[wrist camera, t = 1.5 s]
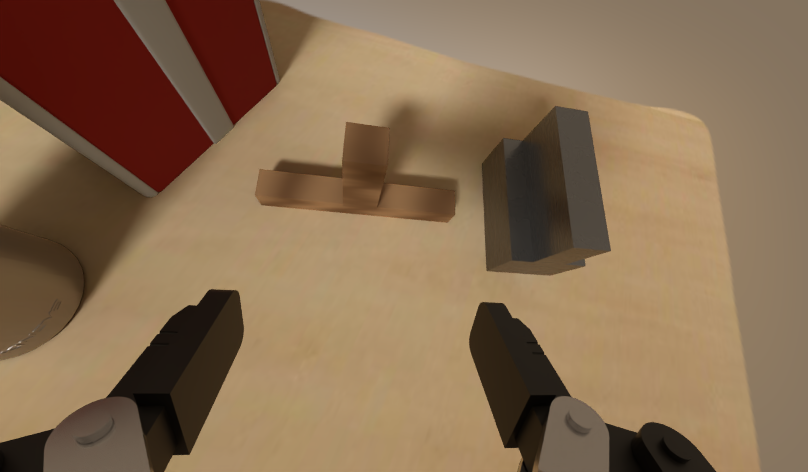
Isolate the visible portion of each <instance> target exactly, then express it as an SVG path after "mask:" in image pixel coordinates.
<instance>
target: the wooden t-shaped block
mask: <svg viewBox="0 0 808 472" xmlns="http://www.w3.org/2000/svg"><path fill="white" fill-rule="evenodd" d="M389 130H390V128H386V127H378V126H371V125H364V124H357V123H350V122H346V129H345V139H344V148H343V158H342V176H343V178H335V177H326V176H317V175H308V174H299V173H290V172H281V171H272V170H263V169H260V171H259V176H258V182H257V187H256V192H255V196H256V197H257V199H258V200H259V202H260V203H261V205H266V206H277V207H287V208H298V209H309V210H319V211H330V212H340V213H351V214H362V215H372V216H383V217H394V218H404V219H415V220H425V221H436V222H447V223H448V222H449V220H450V219H451V218H452V217H453V216H454V215H455V191H452V190H443V189H434V188H425V187H416V186H407V185H398V184H389V183H383V182H384V178H385V174H386V170H387V166H388V148H389Z"/></svg>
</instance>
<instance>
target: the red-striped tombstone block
mask: <svg viewBox="0 0 808 472" xmlns="http://www.w3.org/2000/svg"><path fill="white" fill-rule="evenodd" d="M279 82H280V78H279V74H278V71H277V67H276V63H275V59H274V55H273V51H272V48H271V44H270V40H269V36H268V32H267V28H266V24H265V21H264V17H263V13H262V9H261V5H260V1H259V0H0V100H1V101H3V102H4V103H6V104H7V105H9V106H10V107H12V108H13V109H15V110H16V111H18V112H19V113H21V114H22V115H24V116H25V117H27V118H28V119H30V120H31V121H33V122H34V123H36V124H37V125H39V126H40V127H42V128H43V129H45V130H46V131H48V132H49V133H51V134H52V135H54V136H55V137H57V138H58V139H60V140H61V141H63V142H64V143H66V144H67V145H69V146H70V147H72V148H73V149H75V150H76V151H78V152H79V153H81V154H82V155H84V156H85V157H87V158H88V159H90V160H91V161H93V162H94V163H96V164H97V165H99V166H100V167H102V168H103V169H105V170H106V171H108V172H109V173H111V174H112V175H114V176H115V177H117V178H118V179H120V180H121V181H123V182H124V183H126V184H127V185H129V186H130V187H132V188H133V189H135V190H136V191H138V192H139V193H141V194H142V195H144V196H146V197H154V196H156V195H158V192H161V191H162V190H163V189H165V188H166V187H167V186H168V185H169V184H170V183H171V182H172V181H173V180H174V179H175V178H177V177H178V176H179V175H180V174H181V173H182V172H183V171H184V170H185V169H186V168H187V167H188V166H190V165H191V164H192V163H193V162H194V161H195V160H196V159H197V158H198V157H199V156H200V155H202V154H203V153H204V152H205V151H206V150H207V149H208V148H209V147H210V146H211V145H212V144H213V143H214V144H215V143H217V142H219V141H220V140H221V139H222V138H223V137H224V136H225V135H226V134H227V133H228V132H229V131H231V130H232V129H233V128H234V124H235V123H236V122H237V121H239V120H240V119H241V118H242V117H243V116H244V115H245V114H246V113H247V112H248V111H249V110H250V109H252V108H253V107H254V106H255V105H256V104H257V103H258V102H259V101H260V100H261V99H262V98H264V97H265V96H266V95H267V94H268V93H269V92H270V91H271V90H272V89H273V88H274V87H276V84H278V83H279Z"/></svg>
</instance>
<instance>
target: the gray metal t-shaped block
mask: <svg viewBox="0 0 808 472" xmlns="http://www.w3.org/2000/svg"><path fill="white" fill-rule="evenodd" d="M482 178H483V200H484V223H485V245H486V268H487V271H494V272H508V273H522V274H537V275H554V274H558V273H562V272H565V271H569V270H573V269H577V268H580V267H584V266H585V259H586V258H589V257H592V256H596V255H599V254H602V253H606V252H609V251H611V249H610V243H609V237H608V231H607V225H606V219H605V212H604V206H603V200H602V194H601V188H600V182H599V176H598V170H597V164H596V158H595V152H594V146H593V140H592V134H591V128H590V122H589V116H588V111H581V110H575V109H569V108H563V107H557V106H555V107H554V108H553V109H552V110H551V111H550V112H549V113H548V114H547V115H546V117H545V118H544V119H543V120H542V121H541V122H540V123H539V124H538V125H537V126H536V127H535V128H534V129H533V130H532V131H531V133H530V134H529V135H528V136H527V137H526V138H525V139H524V140H523V141H520V140H513V139H506V138H503V139H502V140H501V142H500V143H499V144H498V145H497V146H496V148H495V149H494V150H493V151H492V153H491V154H490V155H489V156H488V157H487V159H486V160H485V161H484V162H483V163H482Z"/></svg>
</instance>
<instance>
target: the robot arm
mask: <svg viewBox="0 0 808 472" xmlns="http://www.w3.org/2000/svg"><path fill="white" fill-rule="evenodd" d="M83 289H84V277H83V271H82V268H81V266H80V264H79V262H78V260H77V258H76V257H75V256H74V255H73V254H72V253H71V252H70V250H68V249H67V248H65V247H63V246H62V245H60V244H58V243H56V242H53V241H50V240H47V239H44V238H41V237H38V236H34V235H31V234H28V233H24V232H21V231H18V230H15V229H11V228H8V227H5V226H2V225H0V360H4V359H8V358H13V357H17V356H20V355H22V354H24V353H27V352H29V351H32V350H34V349H36V348H37V347H39V346H41V345H42V344H44V343H46V342H47V341H49V340H50V339H51V338H52V337H54V336H55V335H56V334H57V333H58V332H60V331H61V330H62V329H63V328H64V326H65V325H66V324H67V323H68V322H69V320H70V319H71V318H72V317H73V315H74V313H75V311H76V310H77V308H78V306H79V304H80V301H81V298H82V295H83ZM243 333H244V325H243V318H242V310H241V303H240V296H239V293H238V291H236V290H215V289H211V290H209V291H208V292H207V293H206V294H205V296H204V297H203V298H202V300H201V301H200V303H199V304H198V305H197V306H193V305H188V306H187V307H185V308H184V309H182V310H181V311H179V312H178V313H177V314H175V315H174V316H172V317H171V318H170V319H169V321H168V322H167V323H166V324H165V326H164V327H163V328H162V329H161V330H160V334H157V335H156V337H155V338H154V339H153V340H152V342H151V343H150V346H148V347H147V348H146V349H145V350H144V352H143V353H142V354H141V355H140V357H139V358H138V359H137V360H136V362H135V363H134V364H133V365H132V367H131V368H130V369H129V370H128V371H127V373H126V374H125V375H124V376H123V378H122V379H121V380H120V381H119V383H118V384H117V385H116V386H115V388H114V389H113V390H112V391H111V393H110V394H109V395H108V396H107V397H106V398H104V399H100V400H97V401H95V402H92V403H90V404H88V405H85V406H84V407H82V408H80V409H78V410H76V411H75V412H74V413H72V414H71V415H69V416H68V417H67V418H65V419H64V420H63V421H62V422H61V423H60V424H59V425H58V426H57V427H56V428H55V429H51V430H48V431H44V432H40V433H37V434H33V435H29V436H25V437H21V438H17V439H13V440H10V441H6V442H2V443H0V472H164V471H165V469H166V467H167V465H168V463H169V461H170V459H171V457H172V455H190V453H191V450H192V448H193V446H194V444H195V442H196V440H197V438H198V436H199V433H200V431H201V429H202V427H203V425H204V423H205V421H206V419H207V416H208V414H209V412H210V410H211V408H212V406H213V404H214V402H215V399H216V397H217V395H218V393H219V391H220V389H221V387H222V384H223V382H224V380H225V378H226V376H227V374H228V372H229V370H230V367H231V365H232V363H233V361H234V359H235V357H236V355H237V353H238V350H239V348H240V346H241V343H242V339H243ZM469 345H470V351H471V355H472V357H473V360H474V363H475V366H476V369H477V371H478V374H479V377H480V380H481V383H482V386H483V388H484V391H485V394H486V397H487V400H488V402H489V405H490V408H491V411H492V414H493V417H494V419H495V422H496V425H497V428H498V431H499V433H500V436H501V439H502V442H503V445H504V448H519V450H520V453H521V455H522V458H521V460H520V463H519V466H518V470H517V472H716V471H715V470H714V468H713V467H712V466H711V465H710V463H709V462H708V461H707V460H706V459H705V457H704V456H703V455H702V454H701V452H700V451H699V450H698V449H697V448H696V447H695V446H694V445H693V444H692V443H691V442H690V441H689V440H688V439H687V438H685V437H684V436H683V435H681V434H680V433H679V432H677V431H675V430H674V429H672V428H670V427H668V426H665V425H663V424H659V423H654V422H650V423H646V424H645V425H643V426H642V428H641V429H640V430H639V432H638V433H636V432H633V431H629V430H626V429H623V428H620V427H616V426H613V425H610V424H607V423H604V421H603V420H602V418H601V417H600V416H599V415H598V414H597V413H596V411H594V410H593V409H592V408H591V407H590V406H588V405H587V404H586V403H584V402H582V401H580V400H578V399H576V398H573V397H571V396H570V394H569V392H568V391H567V389H566V387H565V386H564V384H563V383H562V381H561V379H560V378H559V376H558V374H557V373H556V371H555V369H554V368H553V366H552V365H551V363H550V361H549V360H548V358H547V356H546V355H544V352H543V350H542V348H541V347H540V345H538V342H537V340H536V339H535V337H534V335H533V334H532V332H531V330H530V329H529V328H528V327H527V326H526V325H524V324H523V323H522V322H521V321H520V320H519V319H517V318H512V316H511V314H510V313H509V311H508V309H507V308H506V306H505V305H504V304H503V303H489V302H482V303H480V305H479V307H478V310H477V313H476V316H475V320H474V323H473V326H472V329H471V333H470V338H469Z"/></svg>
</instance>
